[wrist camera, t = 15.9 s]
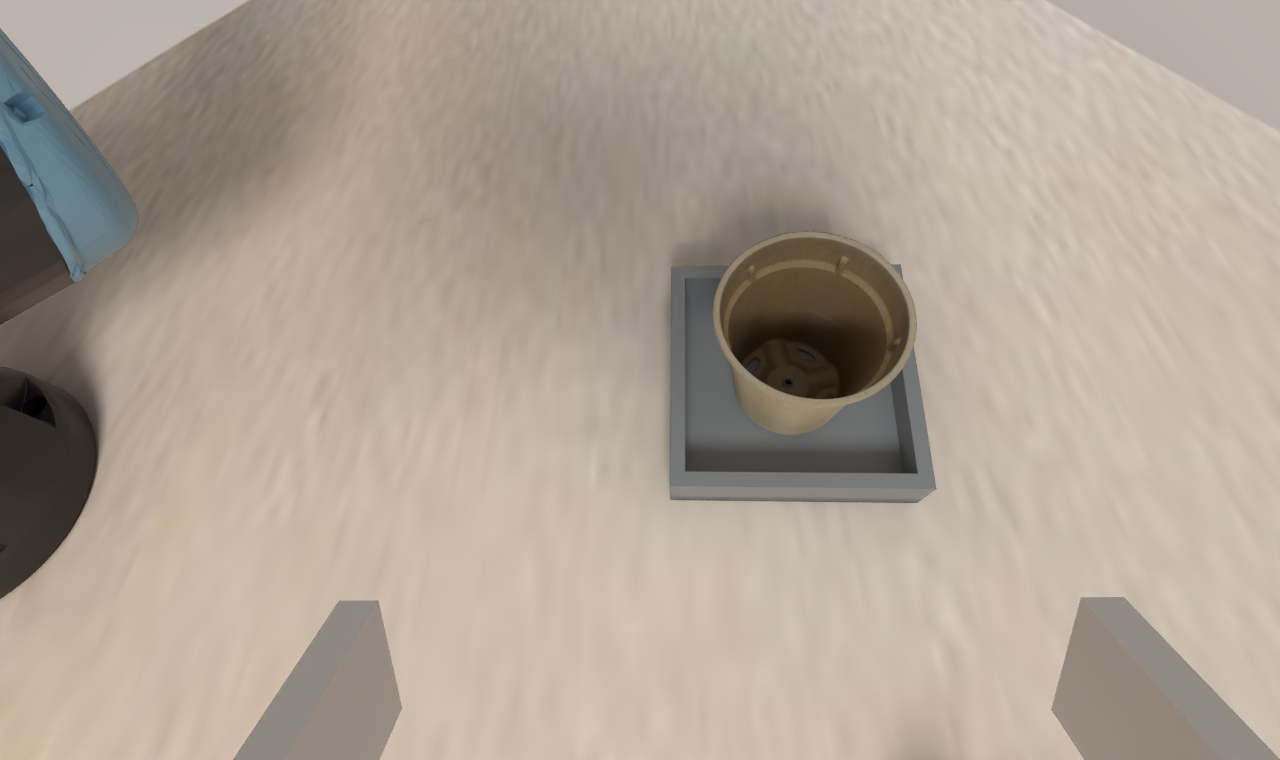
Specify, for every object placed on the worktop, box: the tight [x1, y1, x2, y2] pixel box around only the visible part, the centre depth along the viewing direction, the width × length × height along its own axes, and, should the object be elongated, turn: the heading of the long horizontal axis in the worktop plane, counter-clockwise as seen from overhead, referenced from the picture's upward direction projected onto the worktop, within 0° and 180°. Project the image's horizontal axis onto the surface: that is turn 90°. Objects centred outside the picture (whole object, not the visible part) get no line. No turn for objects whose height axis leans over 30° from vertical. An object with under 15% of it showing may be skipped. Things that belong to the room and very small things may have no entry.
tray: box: [670, 265, 936, 503], centre depth 38 cm, size 14×14×3 cm
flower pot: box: [713, 231, 917, 435], centre depth 35 cm, size 9×9×9 cm
